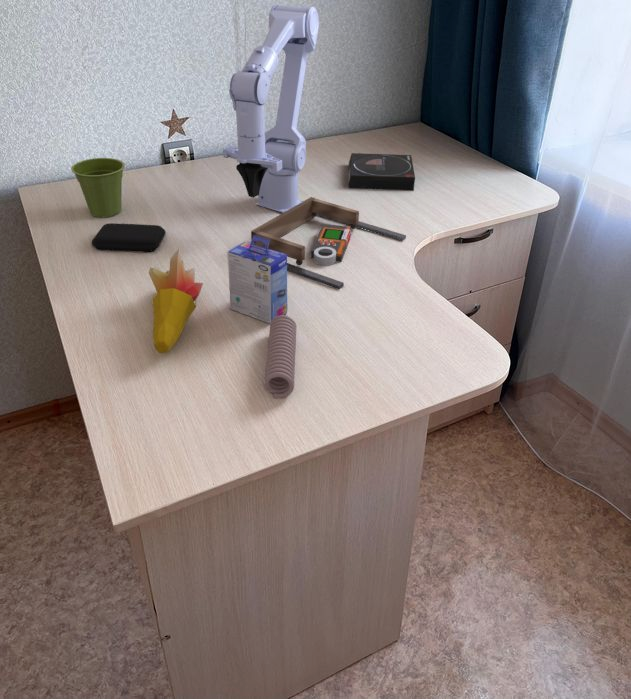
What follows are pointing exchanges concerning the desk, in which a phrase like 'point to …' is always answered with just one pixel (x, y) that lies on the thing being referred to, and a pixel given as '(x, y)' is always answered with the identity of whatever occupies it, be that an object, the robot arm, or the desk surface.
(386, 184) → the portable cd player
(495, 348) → the desk surface
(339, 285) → the track
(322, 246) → the electronic device
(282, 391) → the coil
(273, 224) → the dolly
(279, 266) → the ink cartridge box
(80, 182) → the plant pot
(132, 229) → the carrying case or bag
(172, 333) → the torch
